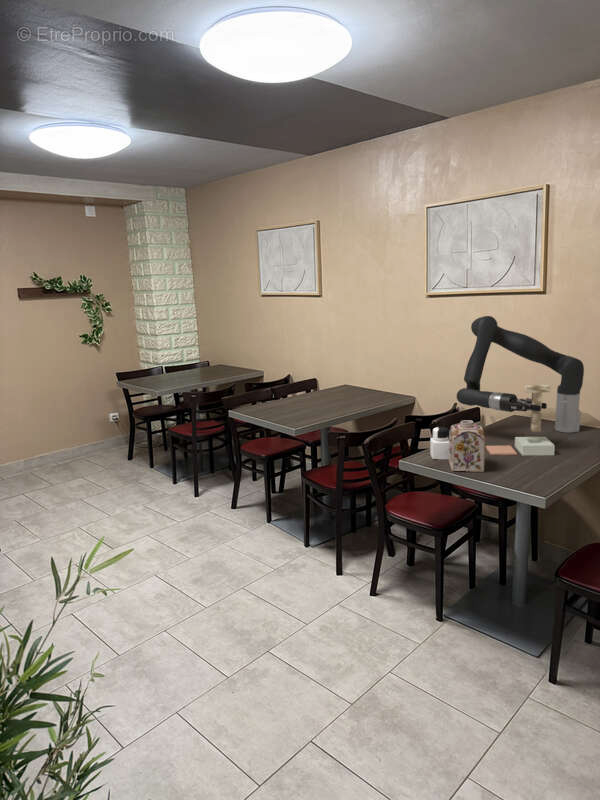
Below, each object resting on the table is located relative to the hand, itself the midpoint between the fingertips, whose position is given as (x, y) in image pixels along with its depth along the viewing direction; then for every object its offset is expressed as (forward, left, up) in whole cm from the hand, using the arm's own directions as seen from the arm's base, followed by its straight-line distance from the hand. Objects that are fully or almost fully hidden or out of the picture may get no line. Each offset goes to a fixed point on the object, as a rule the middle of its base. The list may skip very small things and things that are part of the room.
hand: (543, 407), depth 219 cm
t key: (+2, -2, -10) cm, 10 cm away
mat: (+15, -2, -19) cm, 24 cm away
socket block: (+2, -2, -19) cm, 19 cm away
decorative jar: (+32, +17, -19) cm, 41 cm away
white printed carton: (+40, +5, -19) cm, 45 cm away
